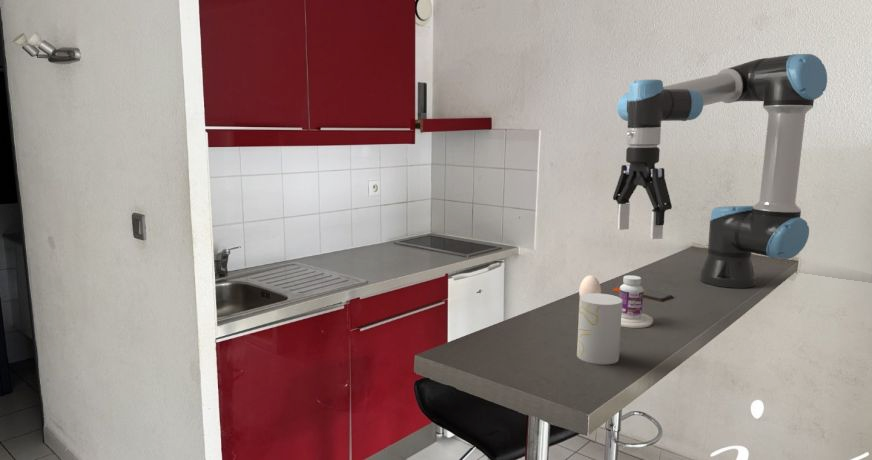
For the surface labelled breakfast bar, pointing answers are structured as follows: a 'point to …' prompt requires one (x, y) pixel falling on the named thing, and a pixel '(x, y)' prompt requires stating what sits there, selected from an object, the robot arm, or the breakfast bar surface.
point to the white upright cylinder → (599, 328)
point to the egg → (589, 285)
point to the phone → (652, 295)
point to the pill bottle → (631, 297)
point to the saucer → (637, 322)
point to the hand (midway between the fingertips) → (639, 233)
